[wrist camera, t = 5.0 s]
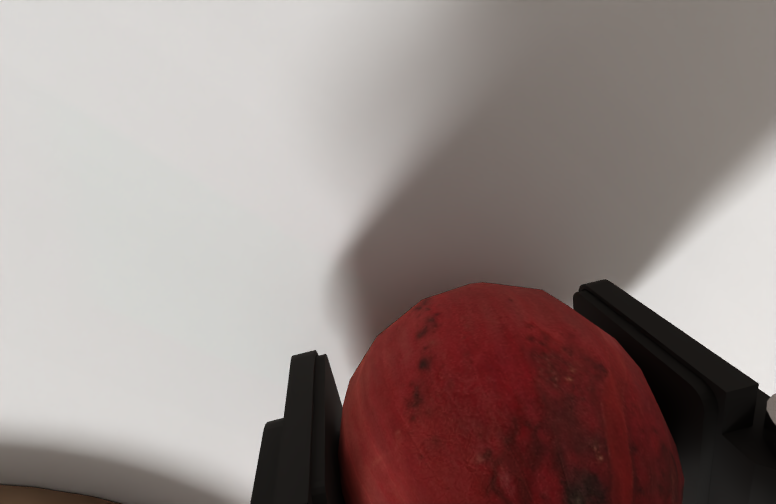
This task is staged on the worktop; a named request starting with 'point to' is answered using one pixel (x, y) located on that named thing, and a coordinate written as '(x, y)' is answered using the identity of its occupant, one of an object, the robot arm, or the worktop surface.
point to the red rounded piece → (502, 409)
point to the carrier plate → (43, 496)
